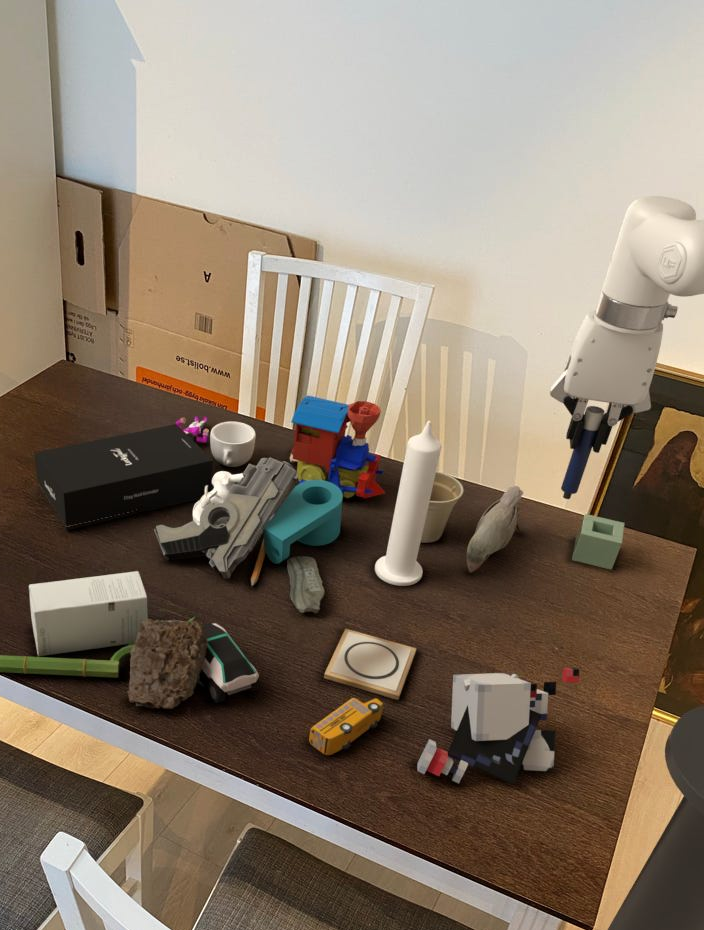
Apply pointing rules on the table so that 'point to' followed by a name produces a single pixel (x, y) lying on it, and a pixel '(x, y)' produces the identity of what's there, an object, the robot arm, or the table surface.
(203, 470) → the box
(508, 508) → the decorative bird
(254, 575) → the pencil
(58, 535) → the table surface
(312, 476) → the toy train
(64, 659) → the decorative plant
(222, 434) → the teacup
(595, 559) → the pen stand
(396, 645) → the framed picture
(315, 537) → the teal mechanical bracket
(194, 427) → the character figurine
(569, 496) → the marker
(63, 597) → the cosmetic box
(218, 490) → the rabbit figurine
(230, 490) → the toy gun
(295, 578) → the stone
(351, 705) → the toy bus
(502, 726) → the toy
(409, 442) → the candle
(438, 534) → the flower pot
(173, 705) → the concrete sample
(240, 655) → the toy car
